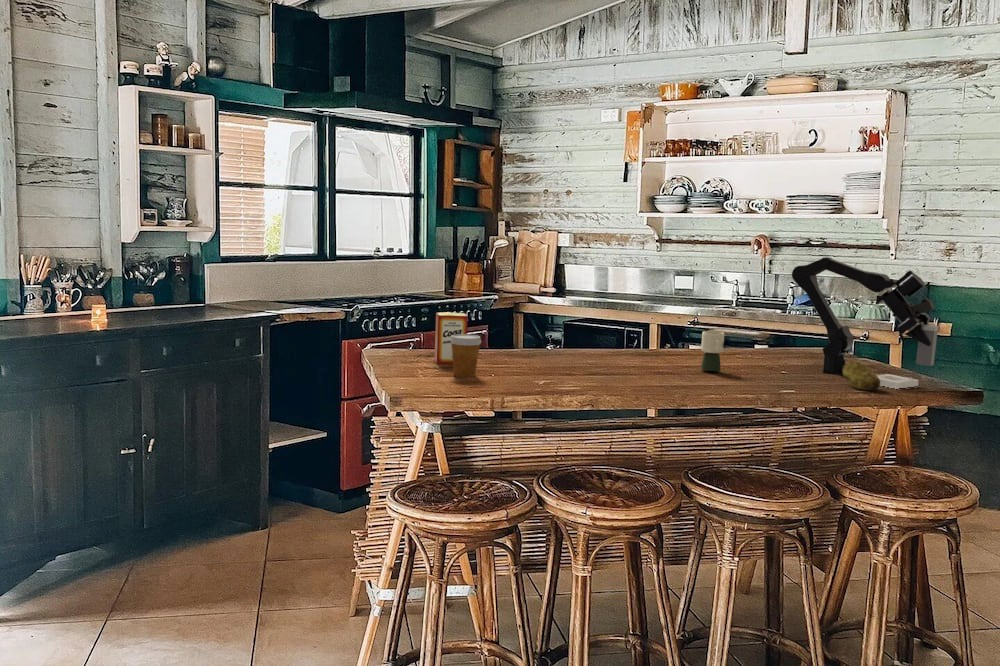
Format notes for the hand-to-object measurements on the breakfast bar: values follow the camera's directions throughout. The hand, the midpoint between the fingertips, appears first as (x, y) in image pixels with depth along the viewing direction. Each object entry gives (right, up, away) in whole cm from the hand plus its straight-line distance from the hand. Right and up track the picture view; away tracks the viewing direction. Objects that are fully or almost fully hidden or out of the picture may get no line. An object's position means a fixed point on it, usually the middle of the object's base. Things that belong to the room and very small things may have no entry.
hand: (931, 344), depth 312 cm
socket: (-12, -13, +1) cm, 18 cm away
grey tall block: (-1, -6, +2) cm, 7 cm away
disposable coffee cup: (-148, -9, -14) cm, 149 cm away
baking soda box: (-153, -6, +8) cm, 153 cm away
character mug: (-68, -9, +11) cm, 69 cm away
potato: (-25, -14, -6) cm, 29 cm away
